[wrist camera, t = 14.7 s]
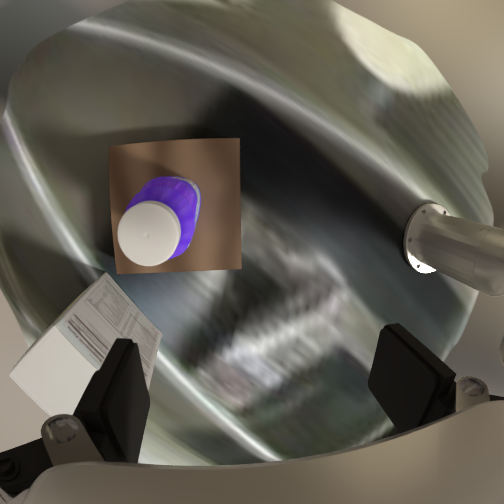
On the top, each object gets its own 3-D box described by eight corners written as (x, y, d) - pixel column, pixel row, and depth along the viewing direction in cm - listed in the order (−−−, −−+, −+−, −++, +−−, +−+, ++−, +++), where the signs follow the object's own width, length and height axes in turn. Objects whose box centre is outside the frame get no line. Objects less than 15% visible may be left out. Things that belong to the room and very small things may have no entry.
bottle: (193, 241, 35) (182, 296, 19) (148, 232, 34) (100, 279, 18) (206, 181, 34) (204, 183, 17) (159, 172, 33) (115, 167, 16)
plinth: (235, 143, 38) (239, 138, 33) (237, 258, 42) (241, 268, 37) (120, 149, 36) (108, 146, 31) (126, 263, 40) (117, 273, 35)
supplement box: (106, 268, 39) (54, 322, 23) (163, 333, 43) (147, 411, 26) (57, 315, 40) (5, 374, 23) (110, 371, 44) (82, 444, 27)
